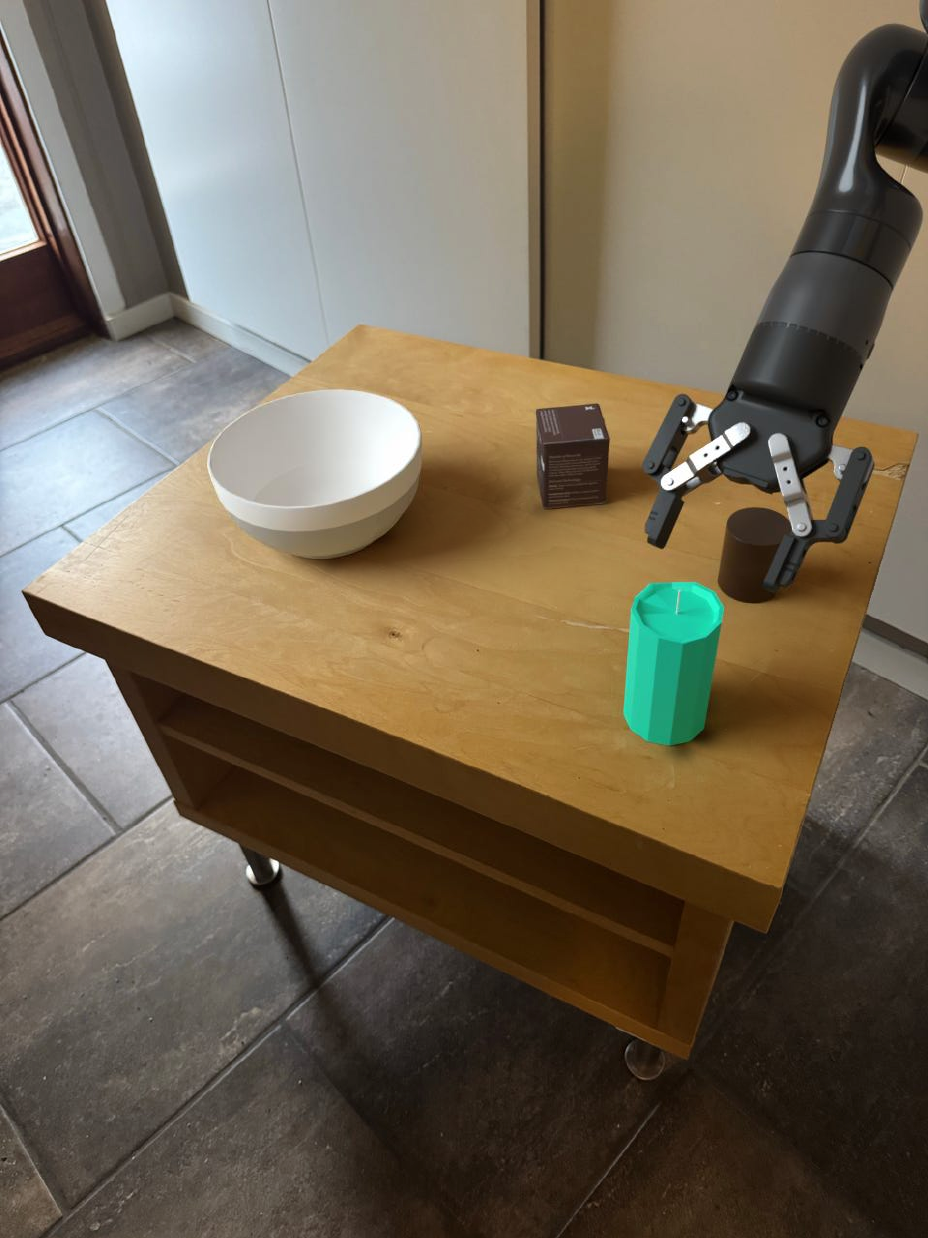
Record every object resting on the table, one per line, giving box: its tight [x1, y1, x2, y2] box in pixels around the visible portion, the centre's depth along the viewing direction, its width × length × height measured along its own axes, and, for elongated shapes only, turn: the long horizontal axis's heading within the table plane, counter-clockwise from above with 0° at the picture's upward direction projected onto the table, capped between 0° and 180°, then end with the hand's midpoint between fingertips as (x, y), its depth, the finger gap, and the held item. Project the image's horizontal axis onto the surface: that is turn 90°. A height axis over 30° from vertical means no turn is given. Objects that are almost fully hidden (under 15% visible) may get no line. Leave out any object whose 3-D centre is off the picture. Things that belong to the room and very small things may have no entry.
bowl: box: [206, 388, 423, 560], centre depth 85 cm, size 19×19×9 cm
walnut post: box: [717, 506, 792, 604], centre depth 76 cm, size 5×5×6 cm
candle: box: [622, 581, 725, 747], centre depth 64 cm, size 6×6×12 cm
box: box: [535, 403, 611, 510], centre depth 86 cm, size 6×6×7 cm
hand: (710, 567), depth 63 cm, fingers open, 8 cm apart
